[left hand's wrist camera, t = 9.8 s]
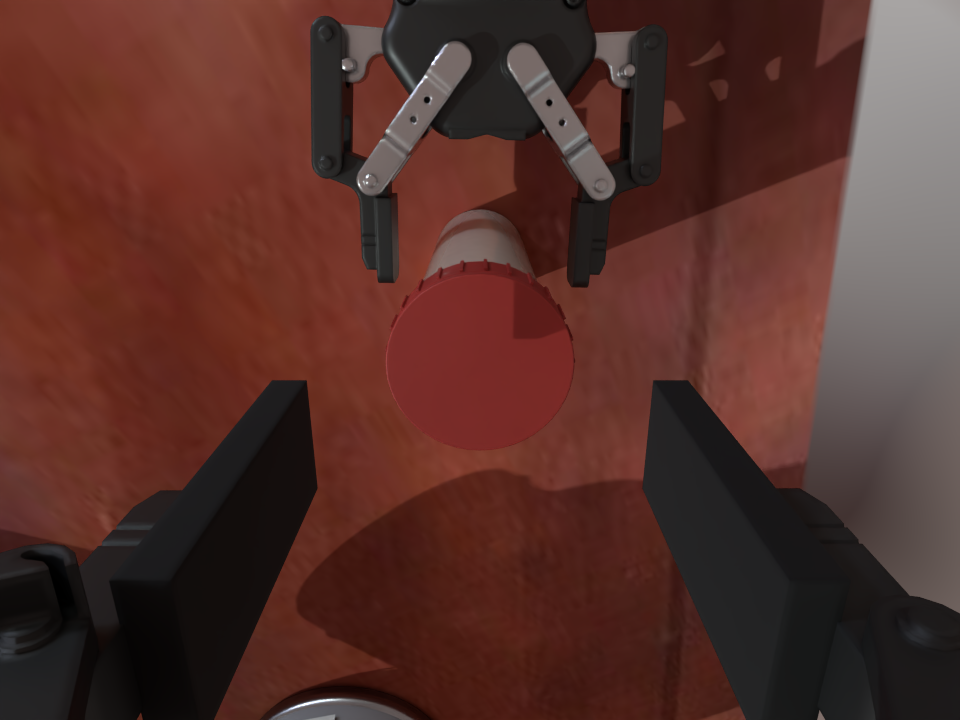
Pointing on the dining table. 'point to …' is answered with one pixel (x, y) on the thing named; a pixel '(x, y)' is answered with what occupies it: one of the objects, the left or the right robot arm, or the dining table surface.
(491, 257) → the jar
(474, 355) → the lid
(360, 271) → the dining table surface
